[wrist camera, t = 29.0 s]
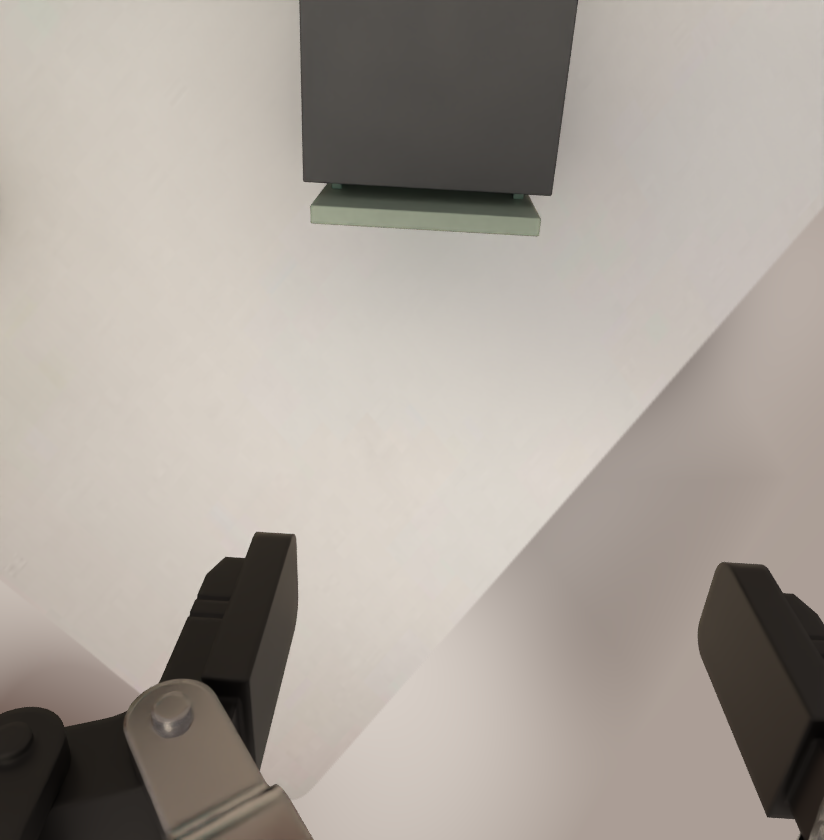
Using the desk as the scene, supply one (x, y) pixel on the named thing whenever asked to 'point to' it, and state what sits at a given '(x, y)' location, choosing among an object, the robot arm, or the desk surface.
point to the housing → (434, 92)
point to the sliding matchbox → (426, 209)
